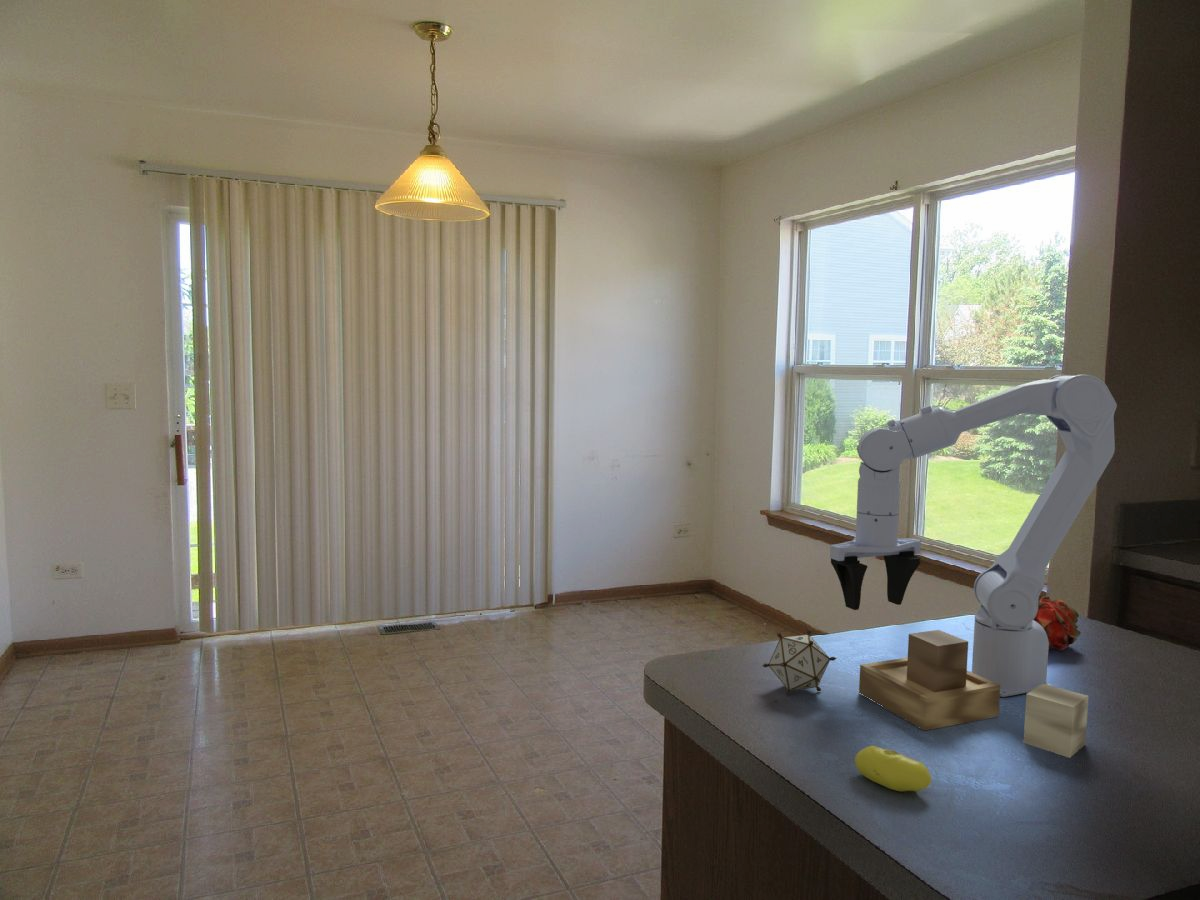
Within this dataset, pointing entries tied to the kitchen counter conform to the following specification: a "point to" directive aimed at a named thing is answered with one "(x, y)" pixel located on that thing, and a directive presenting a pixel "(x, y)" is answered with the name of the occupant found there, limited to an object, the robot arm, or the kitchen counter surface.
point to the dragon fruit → (1057, 622)
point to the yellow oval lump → (892, 769)
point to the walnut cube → (937, 660)
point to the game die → (799, 662)
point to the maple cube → (1055, 720)
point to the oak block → (928, 696)
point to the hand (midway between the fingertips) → (873, 605)
